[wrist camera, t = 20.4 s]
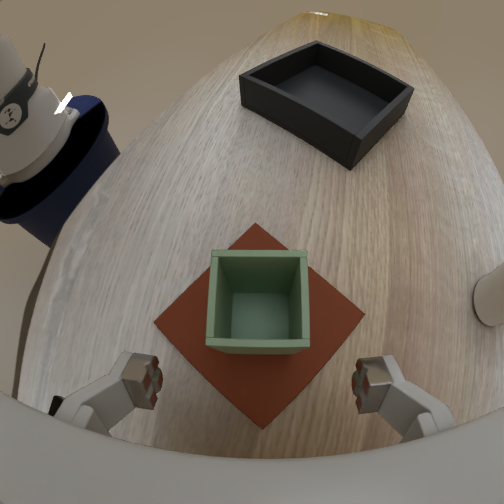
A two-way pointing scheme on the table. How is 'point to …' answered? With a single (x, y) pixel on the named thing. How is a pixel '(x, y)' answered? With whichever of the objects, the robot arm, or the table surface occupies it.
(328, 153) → the bin
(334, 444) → the table surface
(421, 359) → the table surface
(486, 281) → the drinking glass
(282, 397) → the mat
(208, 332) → the box
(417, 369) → the table surface
